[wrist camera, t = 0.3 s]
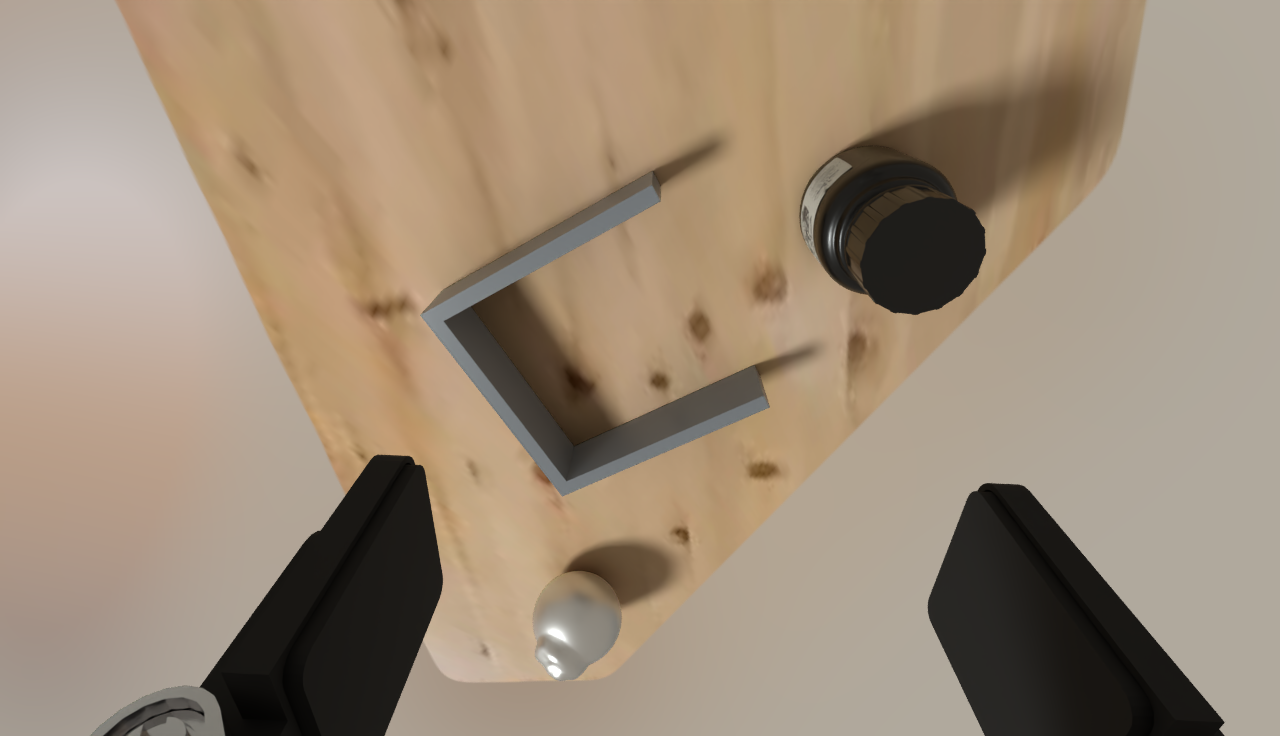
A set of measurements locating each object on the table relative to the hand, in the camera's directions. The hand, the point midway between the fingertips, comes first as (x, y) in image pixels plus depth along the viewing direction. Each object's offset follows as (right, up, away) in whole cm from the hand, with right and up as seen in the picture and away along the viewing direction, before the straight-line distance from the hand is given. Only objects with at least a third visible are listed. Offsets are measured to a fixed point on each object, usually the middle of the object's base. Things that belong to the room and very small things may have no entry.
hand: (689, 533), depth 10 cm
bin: (-3, +6, +38) cm, 39 cm away
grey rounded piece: (-7, -20, +53) cm, 57 cm away
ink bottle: (+15, +15, +33) cm, 39 cm away
